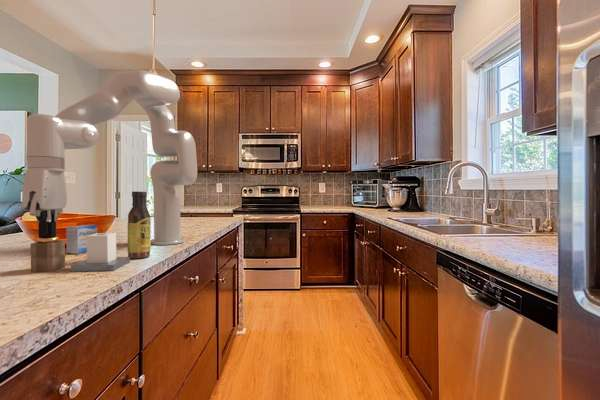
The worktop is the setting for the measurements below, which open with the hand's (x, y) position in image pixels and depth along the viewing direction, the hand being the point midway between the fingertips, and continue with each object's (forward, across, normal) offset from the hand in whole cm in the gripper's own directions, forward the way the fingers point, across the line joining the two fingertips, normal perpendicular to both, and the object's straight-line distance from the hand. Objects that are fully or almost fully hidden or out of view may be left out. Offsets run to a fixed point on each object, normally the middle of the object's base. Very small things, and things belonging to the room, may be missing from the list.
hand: (47, 237), depth 83 cm
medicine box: (+8, -25, -5) cm, 27 cm away
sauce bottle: (+8, -14, +17) cm, 24 cm away
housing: (+7, -2, +12) cm, 14 cm away
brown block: (+8, 0, 0) cm, 8 cm away
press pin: (+6, 0, 0) cm, 6 cm away
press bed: (+8, -2, +12) cm, 15 cm away
